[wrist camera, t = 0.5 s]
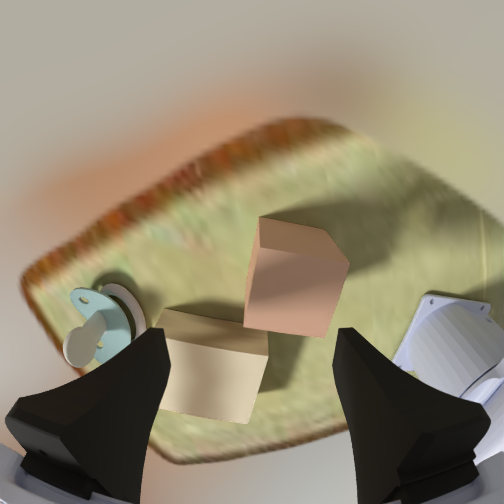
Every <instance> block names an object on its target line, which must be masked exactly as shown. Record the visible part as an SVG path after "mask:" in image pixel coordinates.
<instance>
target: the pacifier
mask: <svg viewBox="0 0 504 504" xmlns="http://www.w3.org/2000/svg"><path fill="white" fill-rule="evenodd" d="M109 295H114V296H117V297H118V298H120V299H121V300H122V301H123V302H124V303H125V304H126V305H127V306H128V308H129V309H130V311H131V313H132V315H133V318H134V320H135V325H136V336H135V338H134V339H132V340H131V330H130V325H129V322H128V319H127V317H126V315H125V313H124V312H123V310H122V308H121V307H120V306H119V305H118V304H117V303H116V302H115V301H114V300H113V299H112V298H110V297H109ZM81 297H84V298H86V299H87V300H88V301H89V302H84V301H83V300H82V299H81ZM70 299H71V301H72V303H73V305H74V306H75V308H76V309H77V310H78V311H79V312H80V313H81V314H82V315H83V316H84V317H85V318H86V319H87V321H86V323H85V324H84V325H83V327H77V328H75V329H73V330H72V331H71V332H69V334H68V335H67V336H66V338H65V340H64V344H63V352H64V356H65V358H66V360H67V361H68V362H69V363H70V364H71V365H73V366H75V367H84V366H86V365H87V364H88V363H90V361H91V360H92V359H93V357H94V358H95V359H96V360H97V361H98V362H100V363H102V364H104V363H105V362H106V361H108V360H109V359H111V358H112V357H113V356H115V355H116V354H117V353H119V352H120V351H121V350H123V349H124V348H125V347H126V346H128V345H129V344H130V343H131V342H133V341H134V340H135V339H136V338H137V337H139V336H140V335H141V334H142V333H144V332H145V331H146V329H147V328H146V322H145V317H144V315H143V312H142V309H141V307H140V305H139V304H138V302H137V300H136V299H135V298H134V296H133V295H132V294H131V293H130V292H129V291H128V290H127V289H126V288H124V287H122V286H120V285H118V284H113V283H111V284H107V285H105V286H104V287H103V288H102V289H101V290H100V292H99V291H97V290H94V289H90V288H83V287H80V288H75V289H74V290H73V291H72V292H71V293H70ZM100 340H101V341H102V342H103V347H99V346H98V345H97V343H98V342H99V341H100Z"/></svg>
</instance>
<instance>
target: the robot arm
mask: <svg viewBox="0 0 504 504" xmlns="http://www.w3.org/2000/svg"><path fill="white" fill-rule="evenodd" d="M432 299H433V300H432ZM431 300H432V301H431ZM430 301H431V302H430ZM490 309H491V305H490V304H489V303H486V302H479V301H472V300H466V299H459V298H453V297H446V296H440V295H433V294H425V295H424V296H423V297H422V299H421V301H420V304H419V306H418V308H417V311H416V313H415V315H414V317H413V320H412V322H411V324H410V326H409V328H408V330H407V332H406V334H405V336H404V338H403V340H402V342H401V344H400V346H399V348H398V350H397V352H396V354H395V356H394V358H393V360H392V361H390V360H389V359H388V358H386V357H385V356H384V355H383V354H382V353H380V352H379V351H378V350H377V349H376V348H375V347H374V346H373V345H371V344H370V343H369V342H368V341H367V340H366V339H365V338H364V337H363V336H362V335H361V334H360V333H358V332H357V331H356V330H355V329H354V328H353V327H351V328H339V329H338V335H337V341H336V347H335V353H334V358H333V364H332V367H333V373H334V379H335V385H336V388H337V392H338V395H339V398H340V401H341V405H342V408H343V411H344V414H345V417H346V421H347V424H348V427H349V431H350V435H351V442H352V448H353V455H354V462H355V471H356V482H357V497H358V504H504V330H503V329H502V328H501V327H500V326H499V325H498V324H497V323H496V322H495V321H494V320H493V319H492V318H491V317H490V316H489V315H488V313H489V311H490ZM399 365H400V366H399ZM170 370H171V361H170V356H169V352H168V347H167V343H166V338H165V333H164V328H151V327H150V328H149V329H147V330H146V331H145V332H144V333H142V334H141V335H140V336H139V337H137V338H136V339H135V340H134V341H133V342H131V343H130V344H129V345H128V346H126V347H125V348H124V349H123V350H121V351H120V352H119V353H117V354H116V355H115V356H113V357H112V358H111V359H109V360H108V361H106V362H105V363H104V364H102V365H101V366H99V367H98V368H96V369H94V370H93V371H91V372H89V373H87V374H86V375H84V376H82V377H80V378H78V379H76V380H74V381H71V382H69V383H67V384H65V385H62V386H60V387H57V388H55V389H52V390H49V391H46V392H42V393H39V394H34V395H30V396H26V397H21V398H19V399H18V400H17V402H16V403H15V404H14V406H13V407H12V409H11V410H10V411H9V413H8V414H7V416H6V417H5V423H6V425H7V428H8V429H9V431H10V432H11V434H12V435H13V436H14V437H15V439H16V440H17V441H18V442H19V444H20V445H21V446H22V447H23V448H24V449H25V451H26V452H27V453H26V455H25V457H23V456H22V455H21V454H19V453H18V452H16V451H14V450H12V449H11V448H9V447H7V446H5V445H4V444H1V443H0V503H1V504H140V494H141V483H142V475H143V467H144V461H145V456H146V450H147V445H148V441H149V436H150V432H151V428H152V425H153V422H154V419H155V417H156V414H157V411H158V409H159V406H160V403H161V400H162V398H163V395H164V392H165V389H166V387H167V383H168V379H169V375H170ZM405 371H415V372H416V374H417V376H418V378H419V379H420V380H418V379H416V378H415V377H413V376H412V375H410V374H408V373H407V372H405Z"/></svg>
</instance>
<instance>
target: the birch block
mask: <svg viewBox="0 0 504 504" xmlns="http://www.w3.org/2000/svg"><path fill="white" fill-rule="evenodd" d="M243 325H244V323H238V322H232V321H227V320H221V319H215V318H210V317H205V316H199V315H194V314H189V313H184V312H179V311H174V310H169V309H165V308H164V310H163V312H162V314H161V316H160V318H159V320H158V322H157V324H156V325H155V327H154V328H164V333H165V338H166V343H167V347H168V352H169V356H170V361H171V370H170V375H169V379H168V383H167V387H166V389H165V392H164V395H163V398H162V400H161V403H160V406H159V408H161V409H165V410H169V411H173V412H178V413H183V414H188V415H193V416H198V417H203V418H209V419H215V420H221V421H228V422H235V423H243V424H248V422H249V419H250V416H251V412H252V409H253V406H254V403H255V400H256V397H257V393H258V390H259V387H260V384H261V380H262V377H263V374H264V370H265V367H266V363H267V360H268V357H269V354H268V333H267V331H266V330H259V329H253V328H247V327H243Z"/></svg>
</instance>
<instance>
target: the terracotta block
mask: <svg viewBox="0 0 504 504" xmlns="http://www.w3.org/2000/svg"><path fill="white" fill-rule="evenodd" d="M349 266H350V263H349V261H348V260H347V258H346V257H345V256H344V254H343V253H342V252H341V250H340V249H339V248H338V246H337V245H336V244H335V242H334V241H333V240H332V238H331V237H330V236H329V234H328V233H327V232H326V231H325V230H324V229H320V228H315V227H310V226H305V225H300V224H295V223H289V222H284V221H279V220H274V219H269V218H263V217H259V219H258V224H257V229H256V234H255V239H254V244H253V249H252V254H251V259H250V264H249V269H248V274H247V281H246V296H245V310H244V325H243V327H247V328H253V329H259V330H266V331H273V332H280V333H287V334H295V335H303V336H311V337H320V338H325V335H326V333H327V330H328V327H329V325H330V322H331V319H332V317H333V314H334V311H335V308H336V305H337V302H338V300H339V297H340V294H341V291H342V288H343V285H344V282H345V279H346V276H347V273H348V269H349Z"/></svg>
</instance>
